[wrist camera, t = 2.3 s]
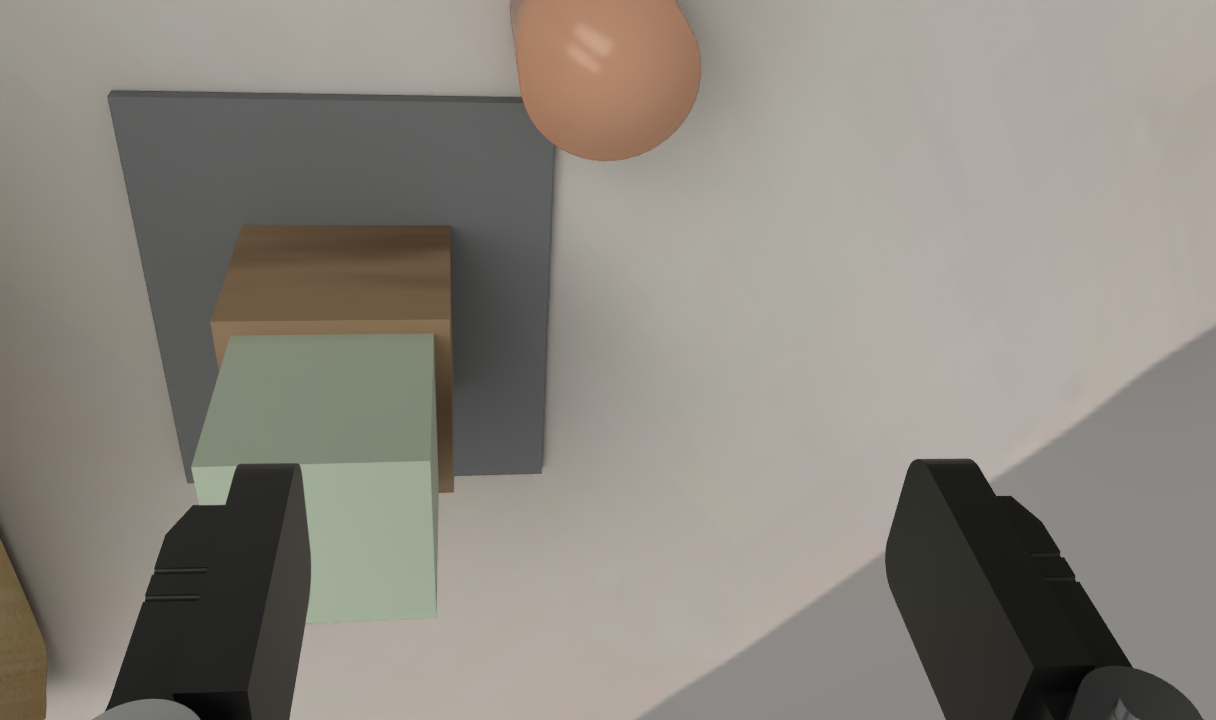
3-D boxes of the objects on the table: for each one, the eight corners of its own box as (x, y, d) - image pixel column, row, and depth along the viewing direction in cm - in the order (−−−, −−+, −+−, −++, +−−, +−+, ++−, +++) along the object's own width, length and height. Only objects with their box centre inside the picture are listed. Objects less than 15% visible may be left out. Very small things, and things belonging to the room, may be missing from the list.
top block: (230, 335, 33) (191, 467, 28) (433, 333, 33) (430, 460, 29) (254, 486, 36) (223, 627, 31) (438, 481, 37) (436, 617, 32)
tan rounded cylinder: (510, -78, 33) (520, -19, 28) (673, -71, 34) (711, -13, 29) (508, 82, 36) (518, 160, 31) (659, 84, 37) (691, 161, 32)
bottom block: (242, 225, 37) (210, 321, 32) (450, 225, 38) (449, 319, 33) (265, 390, 41) (240, 498, 36) (453, 387, 42) (453, 492, 37)
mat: (111, 90, 35) (107, 96, 34) (554, 98, 36) (555, 103, 36) (190, 475, 44) (187, 483, 43) (540, 465, 46) (541, 473, 45)
